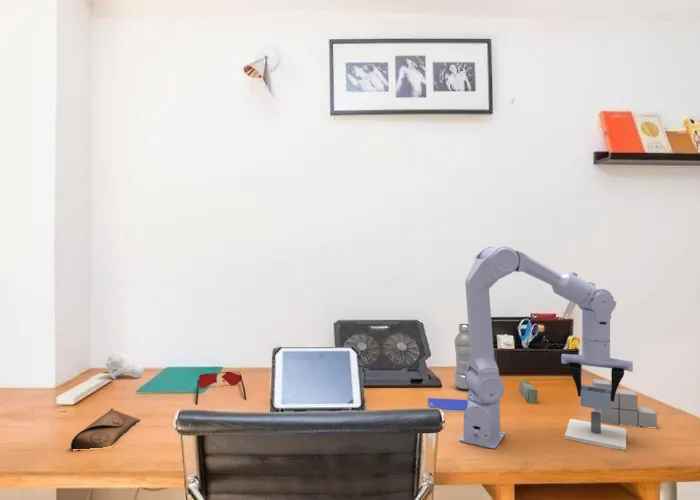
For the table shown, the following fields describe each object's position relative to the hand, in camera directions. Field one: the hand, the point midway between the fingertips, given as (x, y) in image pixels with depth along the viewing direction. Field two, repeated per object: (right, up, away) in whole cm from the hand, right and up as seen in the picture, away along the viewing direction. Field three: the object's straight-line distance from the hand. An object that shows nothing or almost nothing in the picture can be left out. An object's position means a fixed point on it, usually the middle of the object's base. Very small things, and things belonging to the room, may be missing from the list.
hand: (595, 397), depth 104 cm
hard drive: (-29, -10, +19) cm, 36 cm away
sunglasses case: (-114, -9, 0) cm, 114 cm away
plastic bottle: (-21, -9, +36) cm, 43 cm away
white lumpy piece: (-133, -9, +47) cm, 142 cm away
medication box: (-5, -9, +28) cm, 30 cm away
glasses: (-96, -9, +30) cm, 102 cm away
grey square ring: (0, -2, 0) cm, 2 cm away
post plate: (0, -9, 0) cm, 9 cm away
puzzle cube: (+13, -9, +12) cm, 20 cm away
